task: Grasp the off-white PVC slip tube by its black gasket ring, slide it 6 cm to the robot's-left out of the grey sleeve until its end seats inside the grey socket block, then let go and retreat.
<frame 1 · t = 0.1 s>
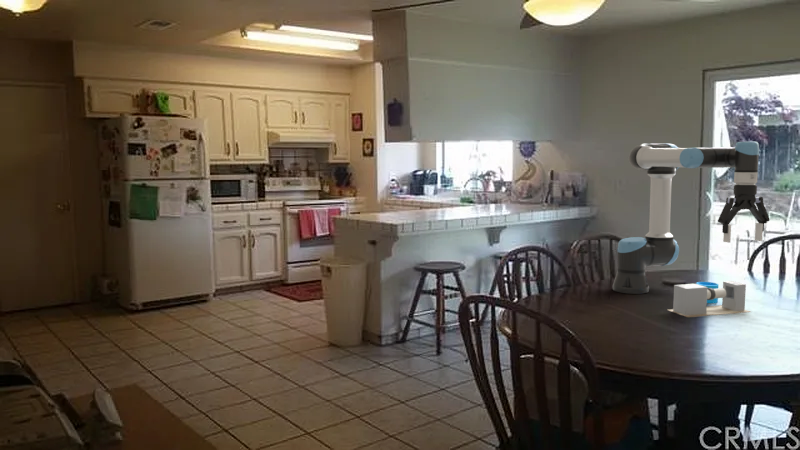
hand: (742, 241, 237), 28 cm above the table, fingers open, 13 cm apart
sleeve: (690, 312, 240), resting on mount board
tube: (703, 294, 241), point 7 cm above the table, slide at 0.0 cm
socket: (733, 308, 245), resting on mount board
mug: (707, 303, 260), on the table
mount board: (708, 313, 242), on the table
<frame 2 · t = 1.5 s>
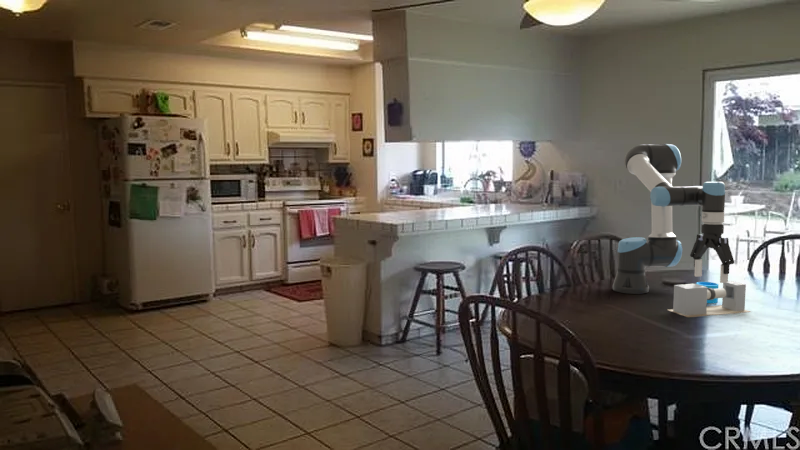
hand: (710, 279, 241), 13 cm above the table, fingers open, 13 cm apart
nothing on the table moved.
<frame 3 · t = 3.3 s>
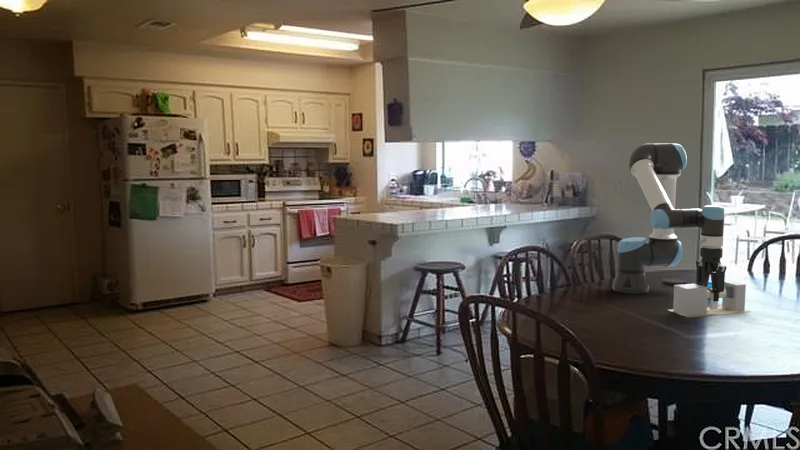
hand: (708, 307, 242), 2 cm above the table, fingers closed on tube, 4 cm apart
tube: (703, 294, 241), point 7 cm above the table, slide at 0.0 cm, touching gripper
everything else where it was.
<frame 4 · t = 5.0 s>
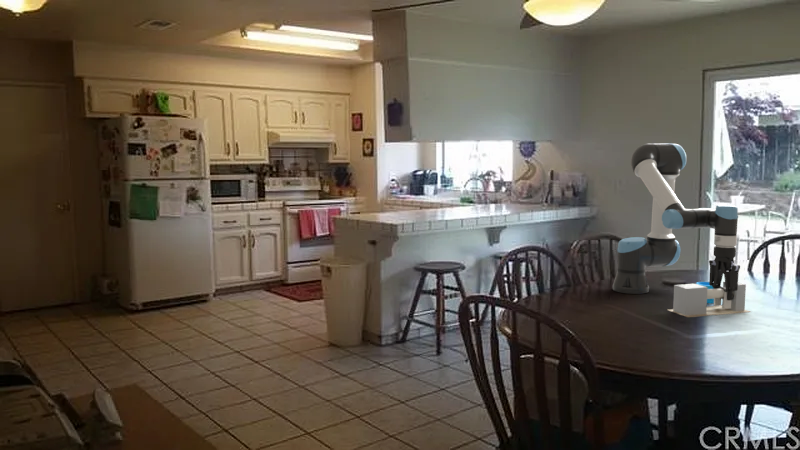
hand: (722, 306, 244), 2 cm above the table, fingers closed on tube, 4 cm apart
tube: (716, 293, 242), point 7 cm above the table, slide at 6.0 cm, touching gripper
everything else where it was.
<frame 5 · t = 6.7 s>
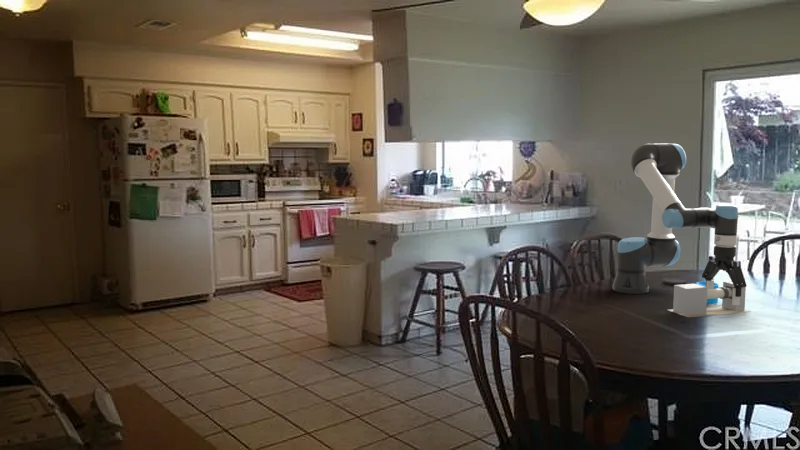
hand: (722, 301, 243), 4 cm above the table, fingers open, 13 cm apart
tube: (716, 293, 242), point 7 cm above the table, slide at 6.0 cm
everything else where it was.
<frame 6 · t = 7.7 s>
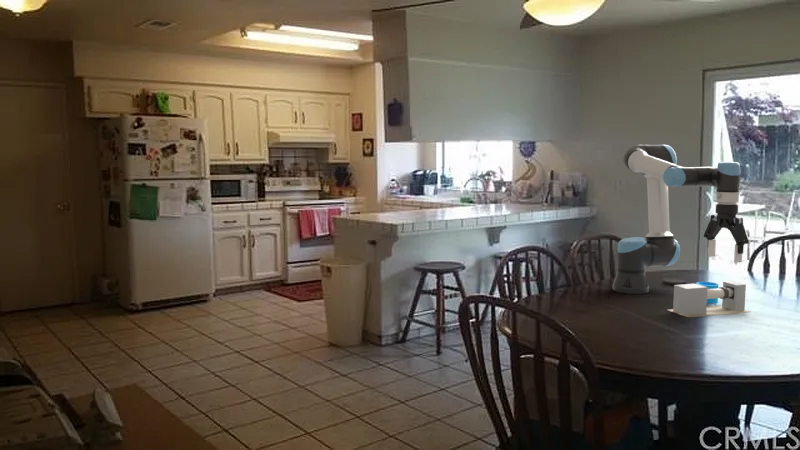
hand: (724, 259, 242), 20 cm above the table, fingers open, 13 cm apart
nothing on the table moved.
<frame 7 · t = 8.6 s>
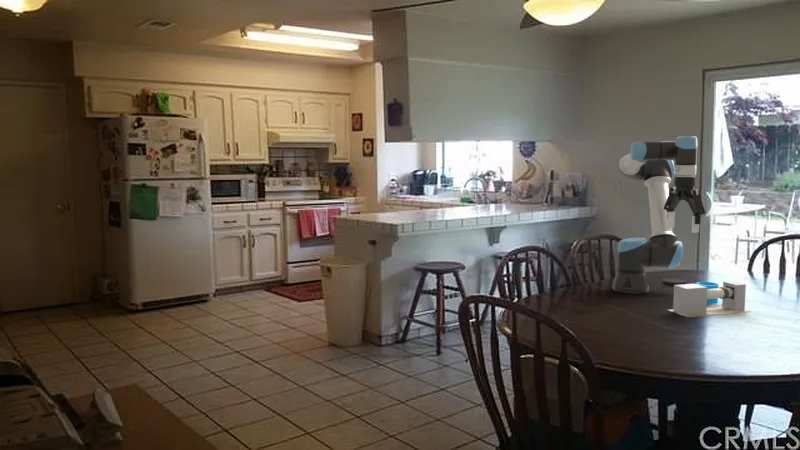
hand: (682, 230, 251), 30 cm above the table, fingers open, 13 cm apart
nothing on the table moved.
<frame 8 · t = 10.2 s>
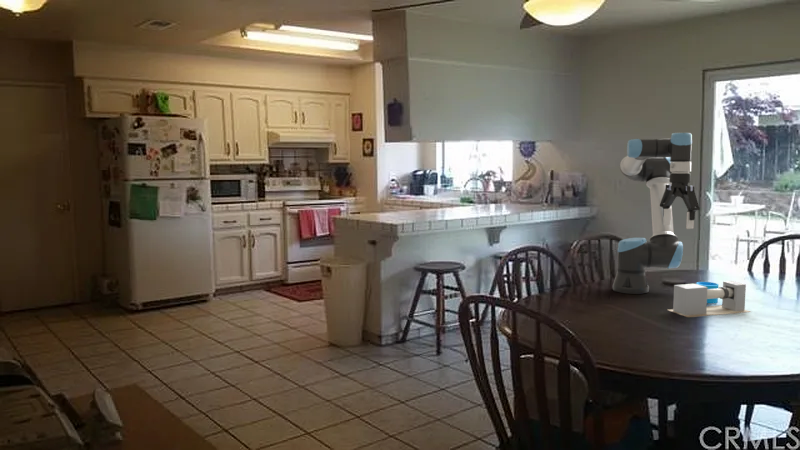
hand: (678, 226, 251), 32 cm above the table, fingers open, 13 cm apart
nothing on the table moved.
at the end: tube slide at 6.0 cm; the gripper is holding nothing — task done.
